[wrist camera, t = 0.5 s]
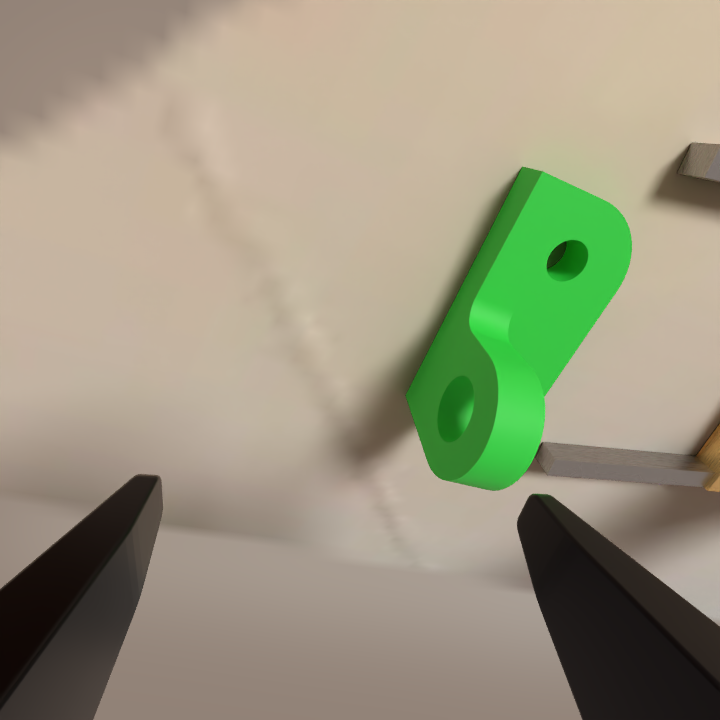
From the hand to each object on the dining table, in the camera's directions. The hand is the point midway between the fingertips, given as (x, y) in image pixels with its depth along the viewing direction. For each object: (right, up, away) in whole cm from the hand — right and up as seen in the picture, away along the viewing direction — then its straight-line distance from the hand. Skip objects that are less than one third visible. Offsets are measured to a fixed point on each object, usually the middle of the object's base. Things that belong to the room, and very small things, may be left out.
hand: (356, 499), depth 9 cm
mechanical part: (+7, +5, +13) cm, 16 cm away
